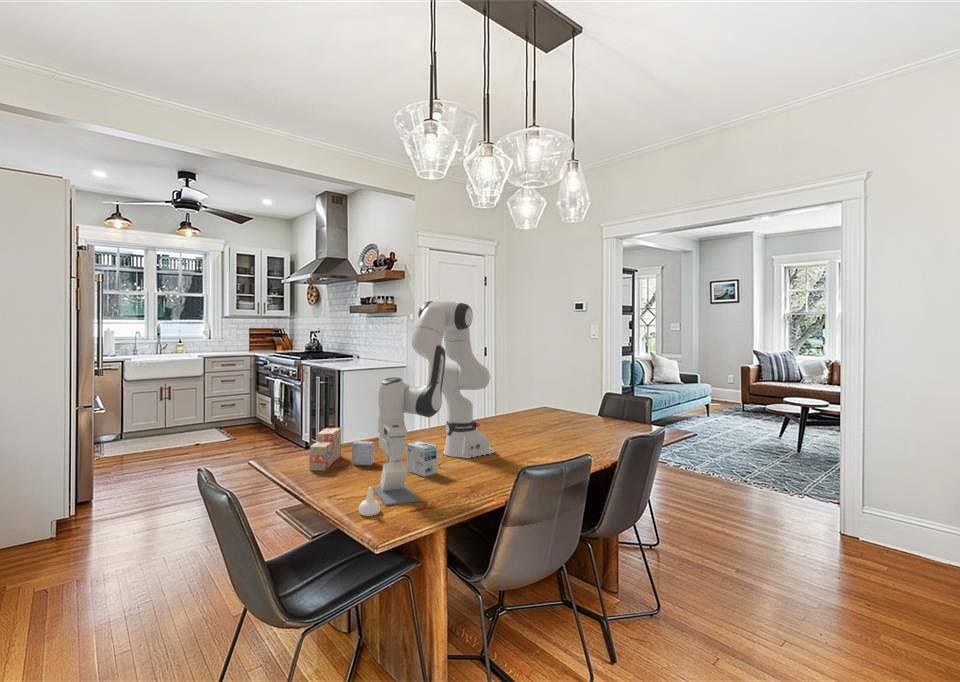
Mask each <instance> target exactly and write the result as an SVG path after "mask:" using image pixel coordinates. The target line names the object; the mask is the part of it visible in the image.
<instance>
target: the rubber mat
mask: <svg viewBox="0 0 960 682" xmlns="http://www.w3.org/2000/svg"><path fill="white" fill-rule="evenodd" d="M372 491H373V492H374V493H375V494H376V495H377V497H378V498H379V500H380V501H381V502H382V504H383V506H385V507H389V505H390V506H396V504H397V505H403V504H404V505H405V504H409V503H415V502H416V503H418V502H420V501H421V500H420V498H419V497H418V496H417V495H416V494H415V493H414V492H413V491H412V490H411V489H410V488H409V486H407V484H405V483H404V486H403V489H396V490H388V491H382V488H381V486H375V487H374V486H373V487H372Z"/></svg>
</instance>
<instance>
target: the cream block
mask: <svg viewBox="0 0 960 682" xmlns="http://www.w3.org/2000/svg"><path fill="white" fill-rule="evenodd" d="M407 473H408V471H407V464H406V462H405V461H397V462H396V461H395V462H394V463H387V462H386V463H383V465H382V471H381V475H380V479H379V483H380V487H381V488H382V491H388V490H396V489H403V486H404V484H405V481H406V477H407Z"/></svg>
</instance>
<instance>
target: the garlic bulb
mask: <svg viewBox="0 0 960 682" xmlns="http://www.w3.org/2000/svg"><path fill="white" fill-rule="evenodd" d="M373 492H374V491H373V487H372V486H368V488H367V493H366V494H367V495H366V499H365V500H363V501H361V503H360V504H359V505H358V506H359V507H358V513H359V514H360V515H361V516H364V517H373V515H374V516H376V515H378V514H379V513H380V511H381V505H380V503H379V501H377V500H376V499H374V494H373Z"/></svg>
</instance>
